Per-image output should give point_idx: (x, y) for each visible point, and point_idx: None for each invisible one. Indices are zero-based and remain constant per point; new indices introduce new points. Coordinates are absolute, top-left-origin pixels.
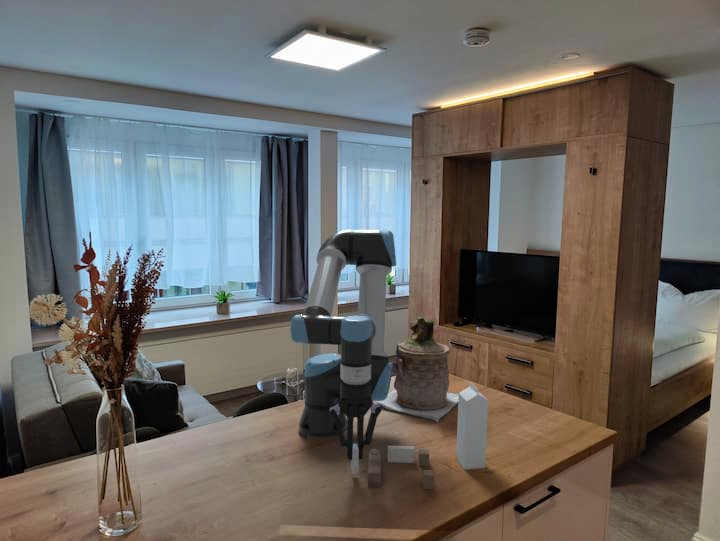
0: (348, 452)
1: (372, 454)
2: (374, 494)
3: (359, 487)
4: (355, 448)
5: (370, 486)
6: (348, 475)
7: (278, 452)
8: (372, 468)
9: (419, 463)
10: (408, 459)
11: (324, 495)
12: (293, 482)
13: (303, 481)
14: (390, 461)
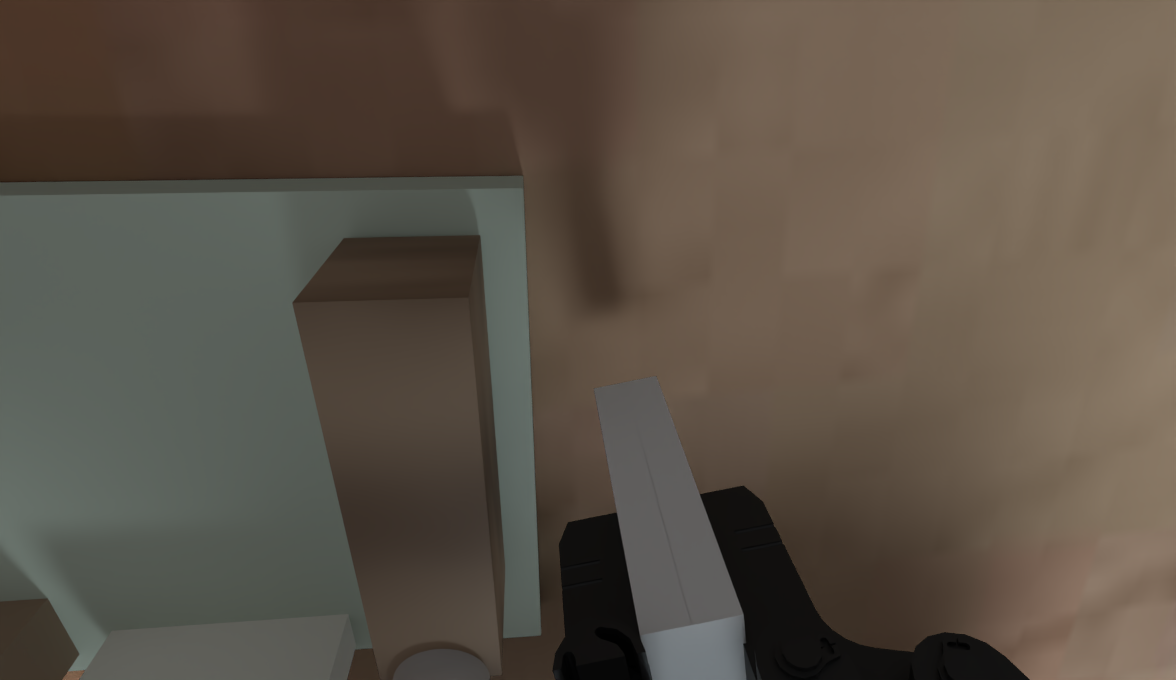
0: (782, 570)
1: (461, 647)
2: None
3: (570, 295)
4: (695, 636)
5: (452, 237)
6: None
7: (1129, 633)
8: (425, 411)
9: (26, 623)
10: (145, 657)
11: (899, 143)
12: (1124, 319)
13: (1041, 339)
14: (321, 624)
